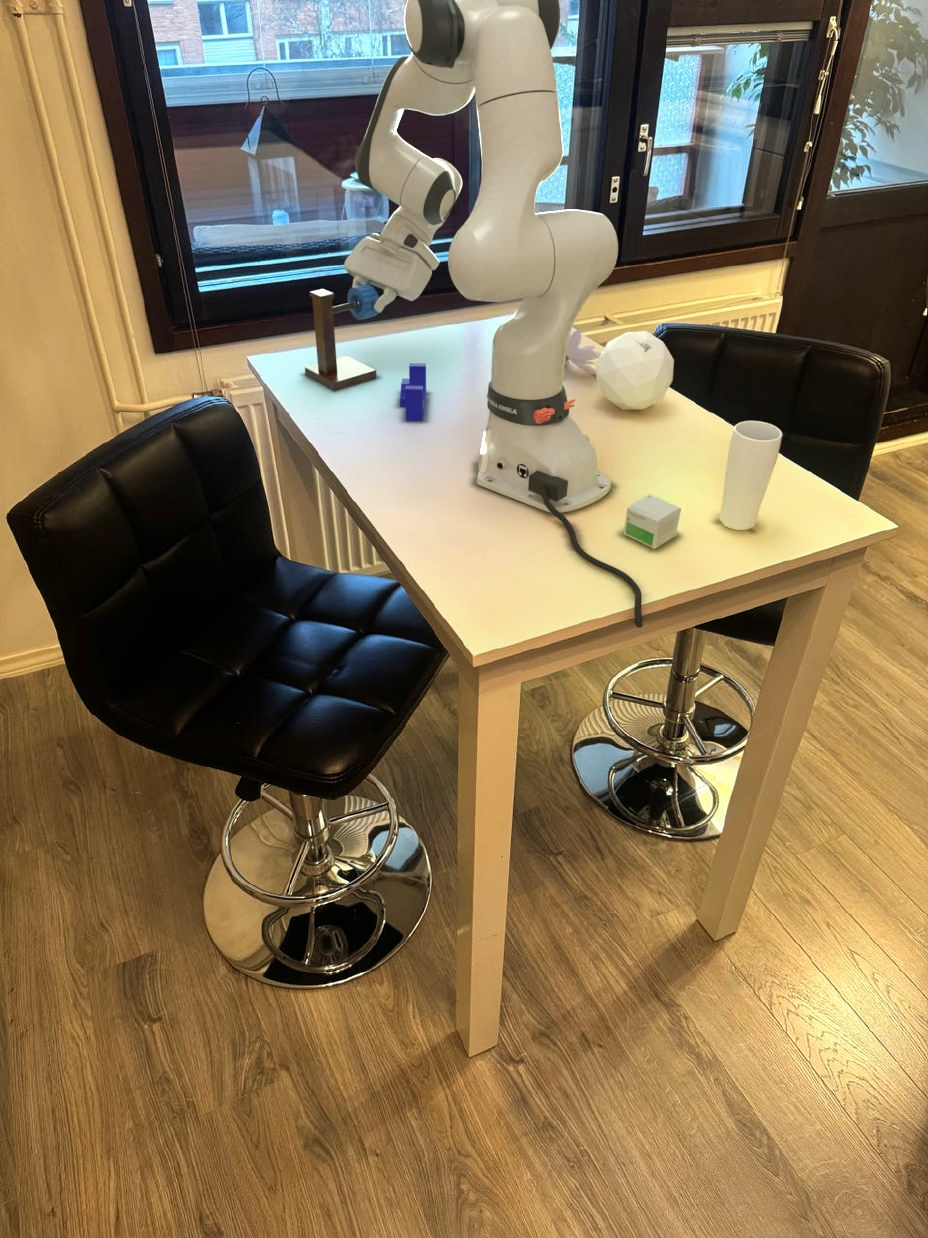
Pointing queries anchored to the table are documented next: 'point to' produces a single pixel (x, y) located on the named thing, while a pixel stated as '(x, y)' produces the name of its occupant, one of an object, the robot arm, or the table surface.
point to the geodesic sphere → (634, 370)
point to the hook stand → (333, 347)
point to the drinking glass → (748, 472)
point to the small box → (652, 521)
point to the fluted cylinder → (363, 301)
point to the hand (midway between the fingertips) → (363, 304)
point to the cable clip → (414, 392)
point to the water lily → (580, 353)
